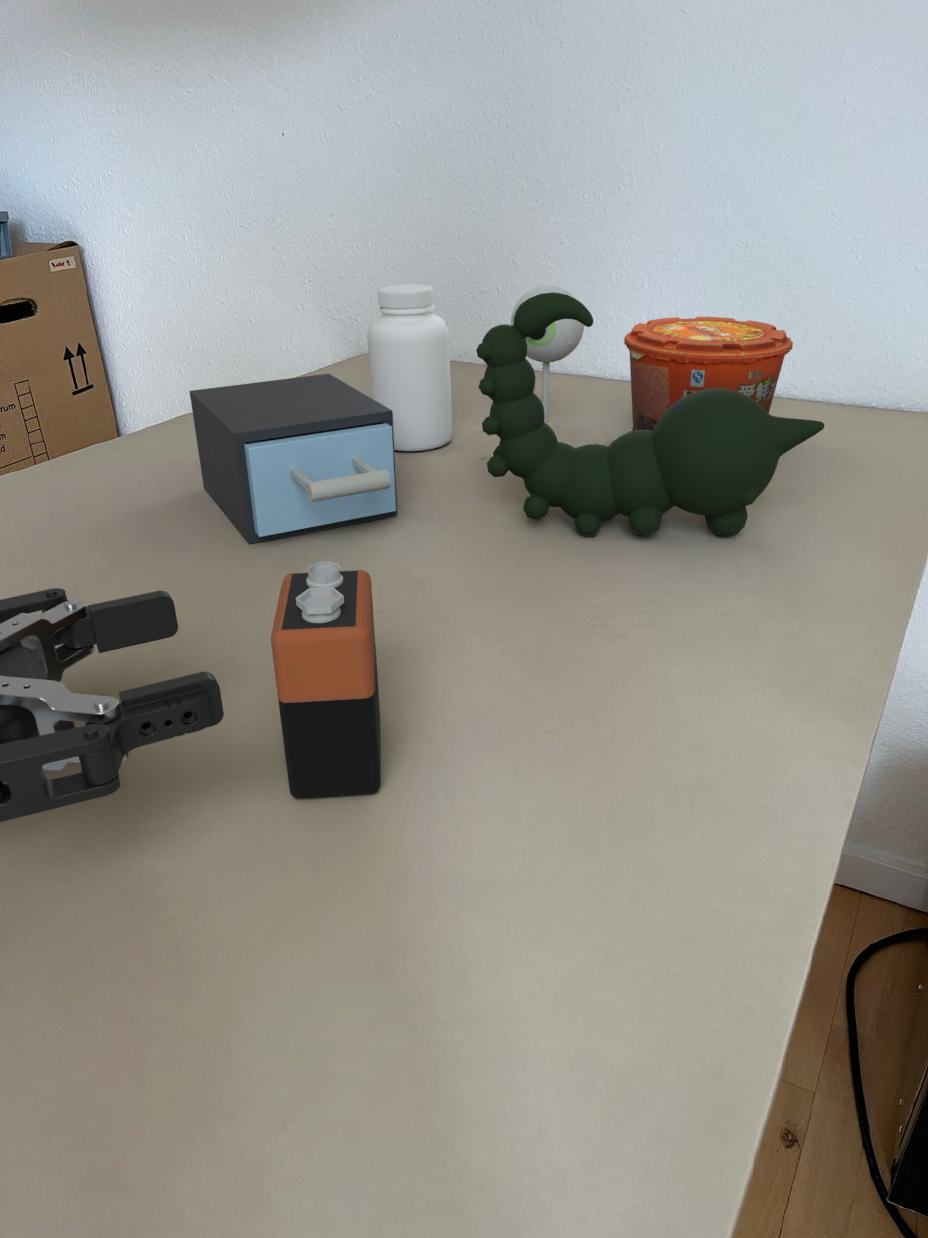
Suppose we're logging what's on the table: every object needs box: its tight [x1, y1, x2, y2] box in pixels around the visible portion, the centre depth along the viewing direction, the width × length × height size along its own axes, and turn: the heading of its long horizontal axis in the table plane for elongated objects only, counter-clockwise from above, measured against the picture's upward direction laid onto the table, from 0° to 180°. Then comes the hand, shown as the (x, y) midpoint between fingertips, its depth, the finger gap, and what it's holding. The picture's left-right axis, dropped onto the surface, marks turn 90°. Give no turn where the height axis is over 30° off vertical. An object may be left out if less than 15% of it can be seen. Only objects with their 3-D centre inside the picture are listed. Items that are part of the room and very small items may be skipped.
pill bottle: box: [366, 283, 453, 452], centre depth 93 cm, size 8×8×15 cm
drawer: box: [244, 423, 396, 537], centre depth 75 cm, size 19×11×7 cm, turn 27°
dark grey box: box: [188, 373, 398, 545], centre depth 79 cm, size 15×13×9 cm
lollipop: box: [510, 284, 585, 426], centre depth 93 cm, size 7×7×15 cm
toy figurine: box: [475, 292, 825, 538], centre depth 71 cm, size 9×19×25 cm
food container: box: [623, 316, 794, 431], centre depth 94 cm, size 16×16×11 cm
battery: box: [270, 561, 382, 800], centre depth 45 cm, size 4×7×10 cm, turn 5°
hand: (195, 650), depth 42 cm, fingers open, 8 cm apart
